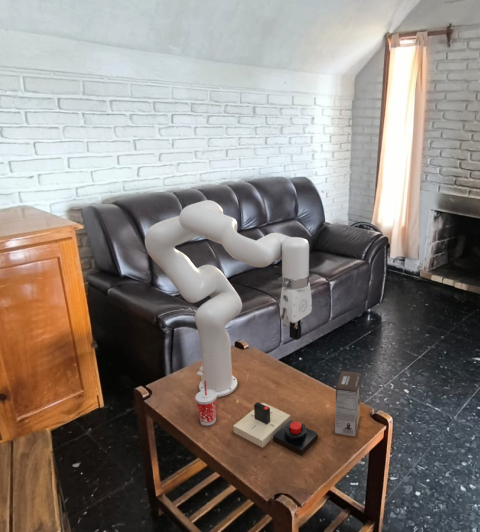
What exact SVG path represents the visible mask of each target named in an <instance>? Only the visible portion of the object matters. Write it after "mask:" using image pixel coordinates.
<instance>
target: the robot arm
mask: <svg viewBox="0 0 480 532" xmlns="http://www.w3.org/2000/svg"><path fill="white" fill-rule="evenodd" d="M197 237H202V238H204V239H207V240H209V241H212V242H214V243H217V244H219V245H221V246H222V247H223V249H224V250H225V251H226V252H227V254H229V256H231V258H233V259H234V260H236V261H238V262H241V263H243V264H245V265H249V266H251V267H255V268H265V267H268V266H270V265H271V264H273V263H274V262H276V261H278V260H281V285H282V287H281V291H280V300H279V302H280V303H279V315H280V316H279V317H280V320H282V326H283V327H285V328H286V327H288V328H289V338H291V339H293V340H297V341H298V340H300V339H301V338H302V326H303V323H304V318H305V317H307V316H308V315H310V314H311V313H312V310H313V303H312V302H313V301H312V300H313V299H312V288H311V283H310V282H309V280H310V274H309V273H310V244H309V241H308V240H307V239H305V238H303V237H298V236H289V235H286V234H284V233H280V232H271V233H268V234H267V235H264V236H262V237H260V238H258V239H257V240H255V239H253V238H249V237H247V236H244V235H242V234H240V233H239V232H238V222H237V220H236V219H235V218H234V217H232V216H230V215H226V214H224V211H223V208H222V207H221V205H220V204H218V203H217V202H216V201H214V200H210V199H206V200H201V201H199V202H195V203H192V204H188V205H186V206H185V207H183V208H182V210H180V213H179V215H177V216H174V217H171V218H170V217H169V218H167V219H164V220H161V221H159V222H156V223H154V224H153V225H151V226H149V228H148V229H147V231H146V233H145V236H144V246H145V249H146V251H147V254H148V255H149V257H150V258H151V260H152V261H154V263H155V264H156V265H158V267H159V268H160V269H161V270H162V271H163V272H164V274H165V275H166V276H167V278H168V280H169V281H170V283H172V285H173V286H174V287H175V289H176V290H177V291H178V293H179V294H180V295H181V297H182V299H184V300H185V301H186V302H187V303H191V304H194V303H199V302H200V301H202V300H204V299H205V298H207V297H208V296H209V297H210V299H208V300H206V301H205V302H204V303H202V304H201V305H199V307H198V308H197V309H196V311H195V315H194V322H195V326H196V329H197V332H198V338H199V347H200V355H201V356H200V359H201V366H200V367H199V371H197V373H196V376H199V377H201V380H200V382H199V383H198V390H199V392H200V391H202V390H205V386H204V381H206V390H214V391H215V392H216V394H217V398H222V397H225V396H228V395H230V394H232V393H233V392H234V391H235V390H236V389H237V388H238V379H237V378H236V376H234V375H233V368H232V367H233V366H232V350H231V349H232V348H231V347H232V346H231V336H230V334H229V333H228V331H227V329H226V327H227V324H229V323H230V322H231V321H233V320H234V319H235V318H236V317H238V315H240V313H241V312H242V310H243V302H242V299H241V297H240V295H239V293H238V292H237V291H236V290H235V288H234V287H233V285H232V284H231V283H230V281H229V280H228V279H227V277H226V276H225V274H224V273H223V272H222V271H221V270H220V269H219V268H218V267H216V266H215V265H212V264H204V265H201V266H199V267H196V266H195V265H194V263H193V262H192V261H191V259H190V258H189V257H188V256H187V255H186V254H185V253H183V252H182V251H180V250H178V249H176V246H179V245H181V244H183V243H186V242H188V241H191V240H193V239H195V238H197Z"/></svg>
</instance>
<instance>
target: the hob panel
mask: <svg viewBox="0 0 480 532" xmlns="http://www.w3.org/2000/svg"><path fill="white" fill-rule="evenodd" d="M260 403H261V404H263V405H265V406H268V407H269V408H270V422H269V423H268V424H265V423H263V422H261V421H259V420H256V419H255V416H254V409H252V410H251V411H250V412H248V413H247V414H246V415H245V416H243V417H242V418H241V419H239V420H238V421H237V422H236V423H234V424H233V425H232V427H233V433H234V434H236V435H238V436H240V437H241V438H243V439H245V440H247V441H248V442H251V443H252V444H255V445H257V446H258V447H260V448H264V447H265V446H266V445H267V444H268V443H269V442H270V441H272V440H273V436H274V435H275V434H276V433H277V432H278V431H279V430H280V429H281V428H282V427H283V426H284V425H286V424H287V423H288V422H289V421H290V420H291V415H290V414H289V413H287V412H285V411H283V410H280V409H278V408H276V407H274V406H272V405H269V404H267V403H265V402H260Z"/></svg>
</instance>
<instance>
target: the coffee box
mask: <svg viewBox="0 0 480 532" xmlns="http://www.w3.org/2000/svg"><path fill="white" fill-rule="evenodd" d="M362 378H363V373H360V372H354V371H343V370H341V372H340V375H339V378H338V380H337V381H338V382H337V385H336V389H335V413H334V434H338V435H343V436H351V437H356V434H357V430H358V427H359V421H360V417H361V416H360V415H361V414H360V413H361V397H362V396H361V395H362V380H363V379H362Z"/></svg>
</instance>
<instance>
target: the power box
mask: <svg viewBox="0 0 480 532" xmlns="http://www.w3.org/2000/svg"><path fill="white" fill-rule="evenodd" d="M292 422H294V421H293V420H291V419H290V421H289V422H288V423H287V424H286V425H284V426H283V427H282V428H281V429H280V430H279V431H278V432H277V433H276V434H275V435H274V436H273V438H272V441H273V443H274V444H277V445H279V446H281V447H283V448H284V449H286V450H289V451H290V452H292V453H294V454H296V455H298V456H300V457H303V456H304V455H305V454H306V453H307V452H308V451H309V449H310V448H311V447H313V445H314V444H315V443H316V442H317V441H318V440H319V432H316V431H314V430H312V429H310V428H308V427H307V426H306V425H305V424H304V423H302V422H300V421H298V422H299V423H301V432H300V433H299V434H292V433H291V432H290V424H291V423H292Z"/></svg>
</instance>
